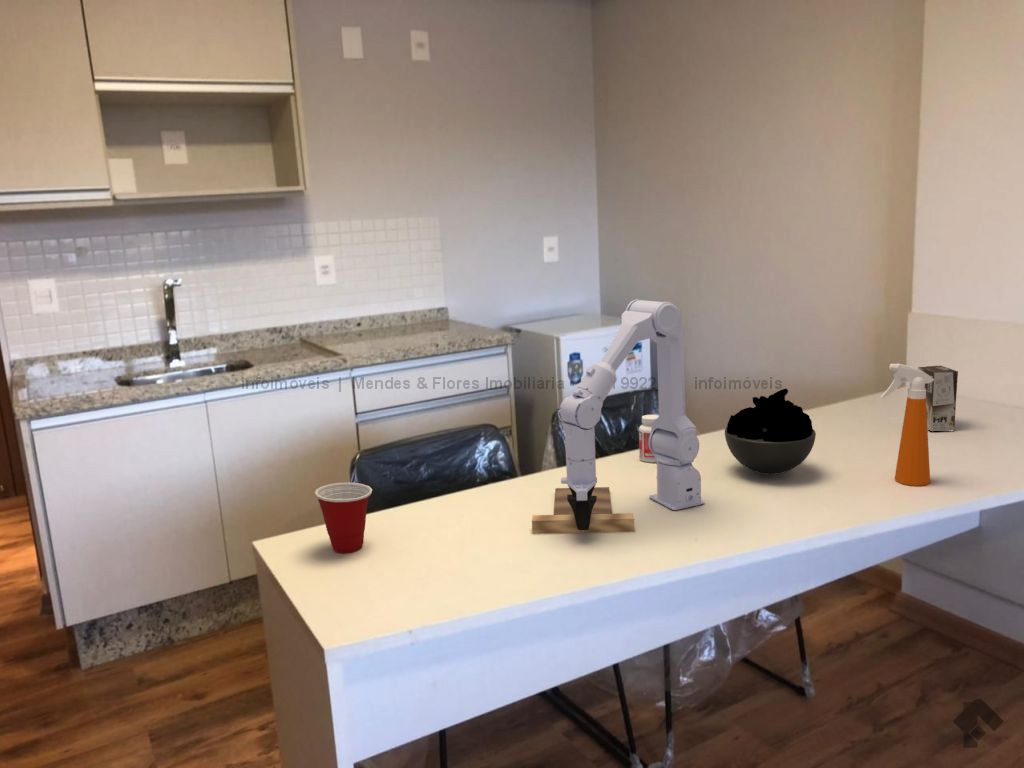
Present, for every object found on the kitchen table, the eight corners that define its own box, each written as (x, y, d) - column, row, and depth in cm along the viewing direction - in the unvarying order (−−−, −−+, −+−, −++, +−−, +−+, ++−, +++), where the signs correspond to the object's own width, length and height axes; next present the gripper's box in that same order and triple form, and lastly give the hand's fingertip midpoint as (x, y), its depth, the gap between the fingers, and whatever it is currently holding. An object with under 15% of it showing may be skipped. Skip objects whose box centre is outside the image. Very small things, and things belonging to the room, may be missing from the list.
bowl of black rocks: (758, 491, 179) (759, 407, 175) (708, 466, 197) (707, 390, 193) (833, 478, 185) (836, 396, 181) (778, 455, 203) (779, 380, 200)
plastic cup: (380, 553, 157) (375, 493, 154) (322, 562, 154) (316, 502, 151) (373, 533, 167) (368, 476, 164) (319, 541, 164) (313, 484, 161)
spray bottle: (873, 475, 185) (878, 360, 180) (925, 476, 183) (931, 360, 178) (880, 485, 178) (885, 367, 173) (934, 486, 176) (941, 366, 171)
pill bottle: (669, 459, 204) (669, 416, 202) (651, 464, 201) (650, 421, 199) (652, 454, 209) (651, 412, 207) (634, 459, 206) (633, 416, 204)
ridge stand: (612, 517, 168) (611, 494, 167) (553, 518, 169) (552, 495, 168) (609, 491, 184) (608, 469, 183) (555, 492, 185) (554, 471, 184)
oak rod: (633, 527, 164) (633, 513, 163) (634, 533, 161) (634, 518, 160) (533, 529, 165) (532, 515, 165) (532, 535, 162) (531, 520, 162)
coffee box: (955, 431, 215) (959, 371, 212) (930, 432, 215) (934, 372, 212) (938, 422, 224) (941, 364, 221) (914, 423, 224) (917, 365, 221)
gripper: (560, 446, 167) (563, 510, 170) (559, 469, 153) (562, 537, 156) (595, 445, 167) (597, 509, 169) (597, 468, 153) (599, 536, 155)
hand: (583, 522), depth 163 cm, fingers open, 6 cm apart
